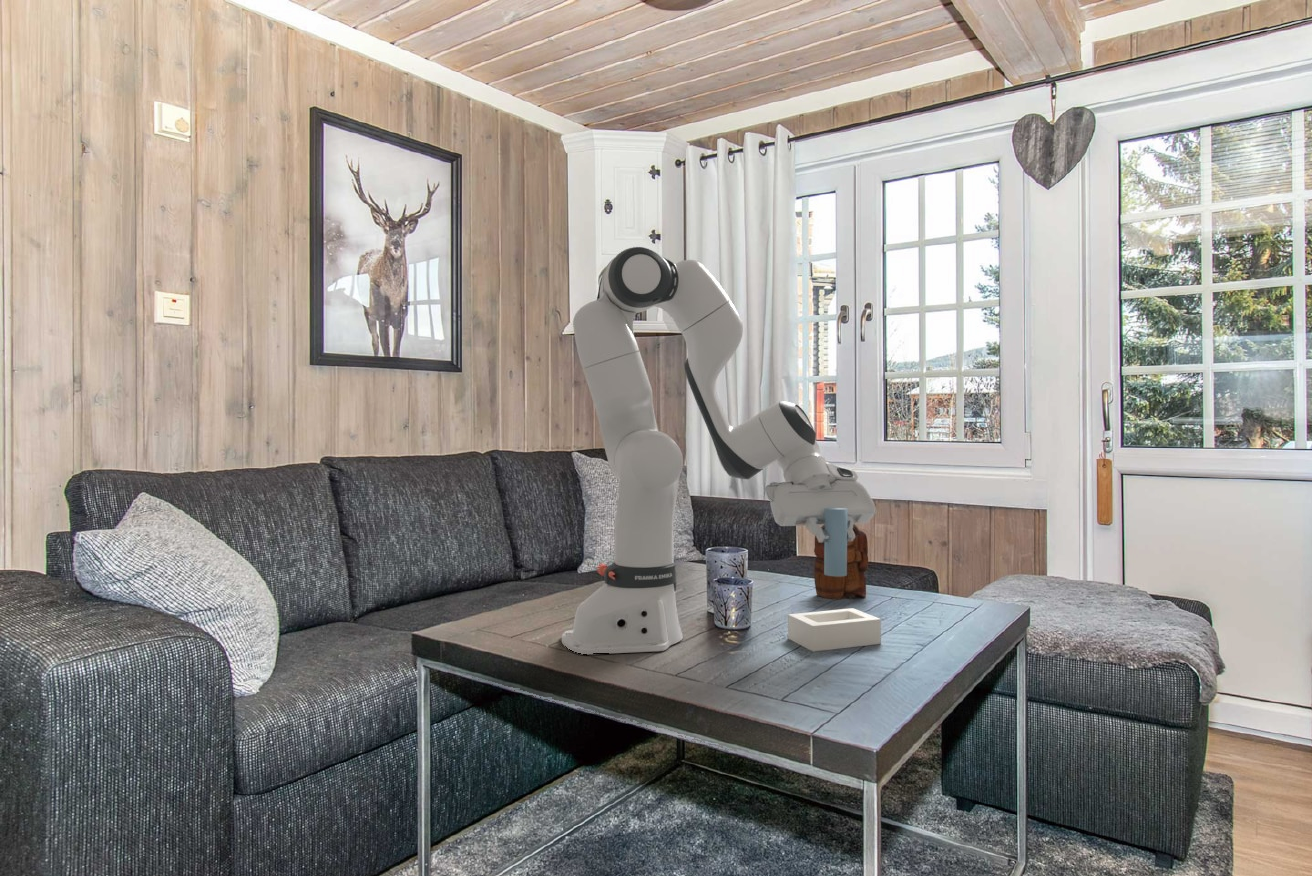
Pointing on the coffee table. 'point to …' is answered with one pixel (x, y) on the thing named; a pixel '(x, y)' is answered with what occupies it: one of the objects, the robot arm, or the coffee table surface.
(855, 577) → the wooden figurine
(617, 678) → the coffee table surface
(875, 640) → the slot block
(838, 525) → the blue pin
